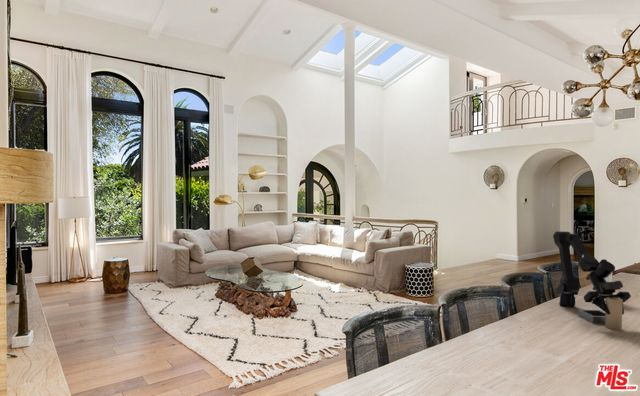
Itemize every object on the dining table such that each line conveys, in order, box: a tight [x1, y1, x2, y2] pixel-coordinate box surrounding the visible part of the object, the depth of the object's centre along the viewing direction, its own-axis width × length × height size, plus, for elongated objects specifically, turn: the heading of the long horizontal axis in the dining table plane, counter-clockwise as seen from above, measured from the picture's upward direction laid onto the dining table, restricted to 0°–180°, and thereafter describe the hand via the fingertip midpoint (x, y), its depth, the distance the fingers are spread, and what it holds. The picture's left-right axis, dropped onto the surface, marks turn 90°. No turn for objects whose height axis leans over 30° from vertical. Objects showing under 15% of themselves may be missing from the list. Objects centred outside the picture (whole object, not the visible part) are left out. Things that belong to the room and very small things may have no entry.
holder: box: [578, 309, 606, 324], centre depth 194 cm, size 10×10×3 cm
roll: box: [604, 297, 624, 331], centre depth 183 cm, size 6×6×13 cm
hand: (616, 314), depth 181 cm, fingers closed on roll, 6 cm apart
